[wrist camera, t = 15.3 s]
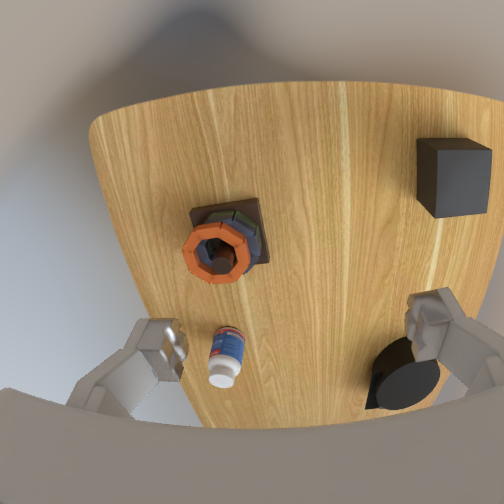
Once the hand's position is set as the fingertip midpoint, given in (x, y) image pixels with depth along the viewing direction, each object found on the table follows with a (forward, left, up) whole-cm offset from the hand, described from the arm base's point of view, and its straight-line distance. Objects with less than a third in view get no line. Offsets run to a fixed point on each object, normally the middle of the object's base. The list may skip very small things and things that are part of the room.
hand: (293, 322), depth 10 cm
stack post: (+11, -9, -29) cm, 32 cm away
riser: (+5, +21, -29) cm, 36 cm away
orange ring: (+11, -10, -25) cm, 29 cm away
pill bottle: (+31, -14, -29) cm, 45 cm away
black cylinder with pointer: (+45, +18, -29) cm, 57 cm away
